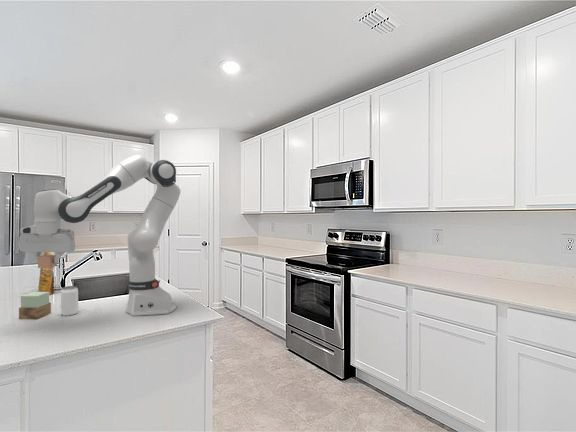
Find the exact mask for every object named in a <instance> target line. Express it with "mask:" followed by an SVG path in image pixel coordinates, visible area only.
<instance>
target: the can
mask: <svg viewBox="0 0 576 432" xmlns="http://www.w3.org/2000/svg"><path fill="white" fill-rule="evenodd" d="M78 313H79V290H78V286H76V285H70V286H68V285H67V286H64V287H62V288H61V291H60V314H61V315H62V316H63V317H69V316H70V317H71V316H74V315H77V314H78Z"/></svg>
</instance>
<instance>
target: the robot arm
mask: <svg viewBox="0 0 576 432" xmlns="http://www.w3.org/2000/svg"><path fill="white" fill-rule="evenodd" d="M176 177H177V169H176V166H175V165H174V164H173V162H171V161H169V160H167V159H160V160H156V161H154V162H150V161H149V160H148V159H147V158H146V157H145V156H144V155H142V154H133V155H131V156H130V157H129V156H128V157H126V158H125V159H123V160H121V161H120V162H118V163H116V164H115V165H114V166H112V167H111V168H110V169H109V170H108V171H107V172H106V173H105V174H104V175H103V178H102V179H101V180H100V181H99V182H98V183H97V184H95V185H94V186H93V187H91V188H90V189H89V190H87V191H85V192H84V193H82V194H80V195H77V196H70V195H68V194H66V193H65V192H64V193H63V192H62V191H60V190H59V189H55V188H54V189H53V188H52V189H43V190H39V191H38V192H37V193H36V194H35V197H34V201H33V203H34V204H33V212H34V219H33V224H32V225H28V226H24V227H22V228H20V230H19V232H20V236H19V239H18V250H19V251H20V252H22V253H24V252H25V253H26V252H27V253H33V256H34V257H35V258H36V263H37V264H38V257H39V256H41V255H42V252H55V255H56V256H55V258H54V259H52V263H57V264H58V263H59V258H60V257H61V256H62V253H72V252H74V251H75V250H76V241H75V232H74V231H73V230H71V229H62V220H63V221H64V222H66V223H70V224H77V223H81V222H82V221H84V220H85V219H86V218H87V217H88V215H89V214H90V212H91V210H92V209H93V208H94V207H95V206H96V205H98V204H99V203H101V202H102V201H104V200H105V199H106V198H108V197H110V196H111V195H113V194H115V193H119V192H122V191H124V190H126V189H129V187H132V186H133V185H134V184H136V183H137V182H138V181H141V180H142V179H144V180H146V181H148V182H149V183H151V184H154V185H156V190H155V193H154V195H153V196H152V198H151V199H150V201H149V202H148V204H147V206H146V208H145V209H144V211H143V214H142V217H141V219H140V220H139V223H138V225H137V226H136V227H134V228H132V229H131V230H130V231H129V232H128V234H127V251H128V262H129V265H128V266H129V272H128V273H129V279H128V284H127V285H128V286H127V289H128V290H127V291H128V298H127V299H128V300H127V305H126V308H125V312H126V313H127V314H130V315H131V316H132V317H134V316H135V317H137V316H139V317H140V316H154V315H167V314H170V313H172V312H174V311H175V310H176V309H177V308H178V305H177V303H175V302H173V300H172V296H171V294H170V293H169V292H168V291H167V290H165V289H163V288H162V287H160V283H161V282H160V281H161V280H160V279H159V280H157V279H156V261H155V255H154V249H156V247H157V245H158V243H159V240H160V238H161V236H162V233H163V232H164V228H165V226H166V224H167V221H168V219H169V218H170V216H171V214H172V212H173V210H174V209H175V207H176V205H177V203H178V201H179V198H180V195H181V188H180V187H179V186H178V185H177V184H176V182H177V178H176Z"/></svg>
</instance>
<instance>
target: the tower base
mask: <svg viewBox="0 0 576 432" xmlns="http://www.w3.org/2000/svg"><path fill="white" fill-rule="evenodd" d="M51 314H52V302H49V303H48V304H45V305H43V306H40V307H38V308H21V306H20V307H18V320H38V319H41V318H43V317H47V316H48V315H51Z"/></svg>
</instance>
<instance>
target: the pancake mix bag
mask: <svg viewBox="0 0 576 432" xmlns="http://www.w3.org/2000/svg"><path fill="white" fill-rule="evenodd" d="M44 255H55V252H41V256H44ZM39 269H40V270H39V279H38V280H39V281H38V287H37V288H38V292H49V296H51V295H53V294H55V273H54V269H55V267H51V268H39Z"/></svg>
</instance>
